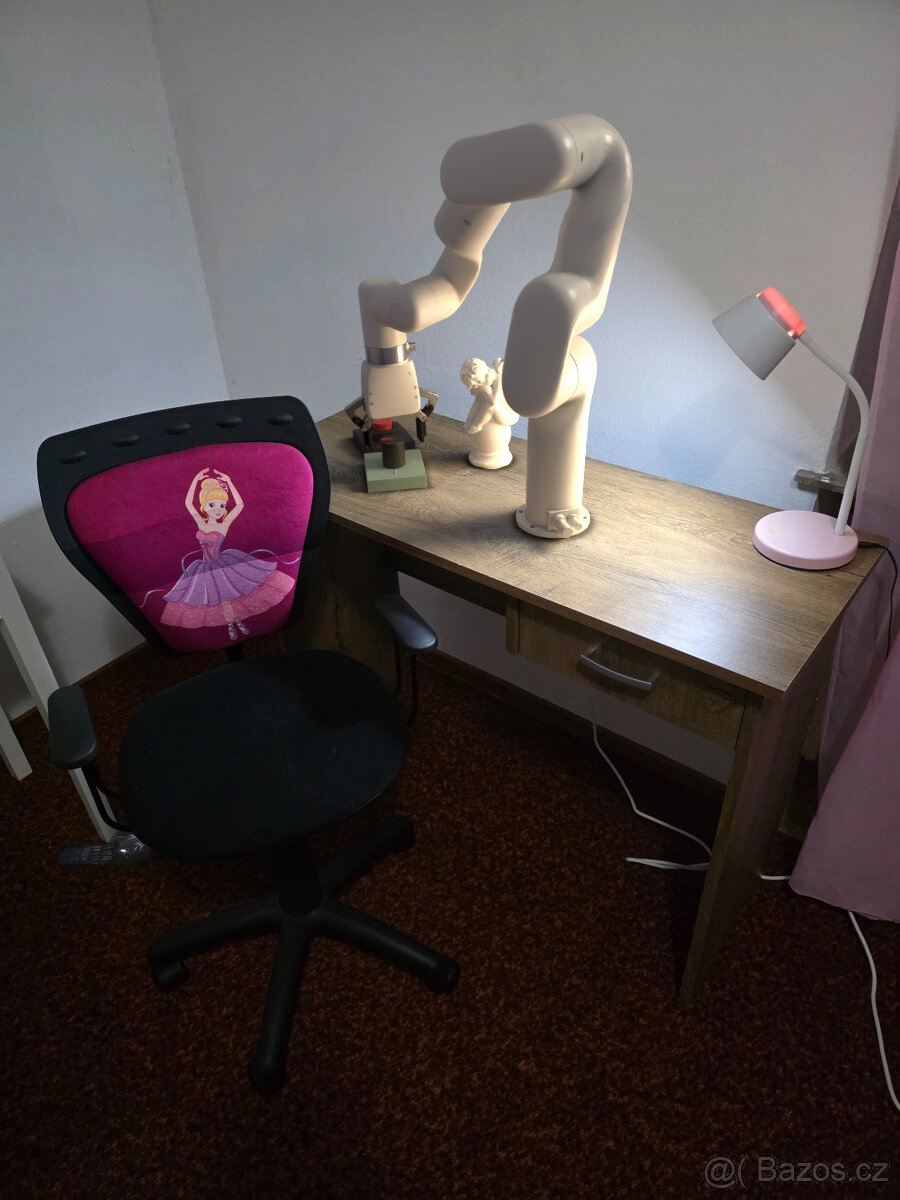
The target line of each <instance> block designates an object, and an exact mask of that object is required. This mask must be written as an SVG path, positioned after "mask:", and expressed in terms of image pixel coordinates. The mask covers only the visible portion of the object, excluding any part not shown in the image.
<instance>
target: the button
mask: <svg viewBox="0 0 900 1200" xmlns="http://www.w3.org/2000/svg"><path fill="white" fill-rule="evenodd" d="M392 421H393V419H392V418H386V419H378V420H374V422H373V423H372V425H373V430H375V431H388V430H390V429H392Z"/></svg>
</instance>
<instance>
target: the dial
mask: <svg viewBox="0 0 900 1200" xmlns="http://www.w3.org/2000/svg"><path fill="white" fill-rule="evenodd" d="M381 450H382V462H383V466H384V467H385V468H388V469H398V468H401V467H403V466H405V464H406V460H405V445H404V438H403V437H402V436H399V435H388V436H385V437H383V438H381Z"/></svg>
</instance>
